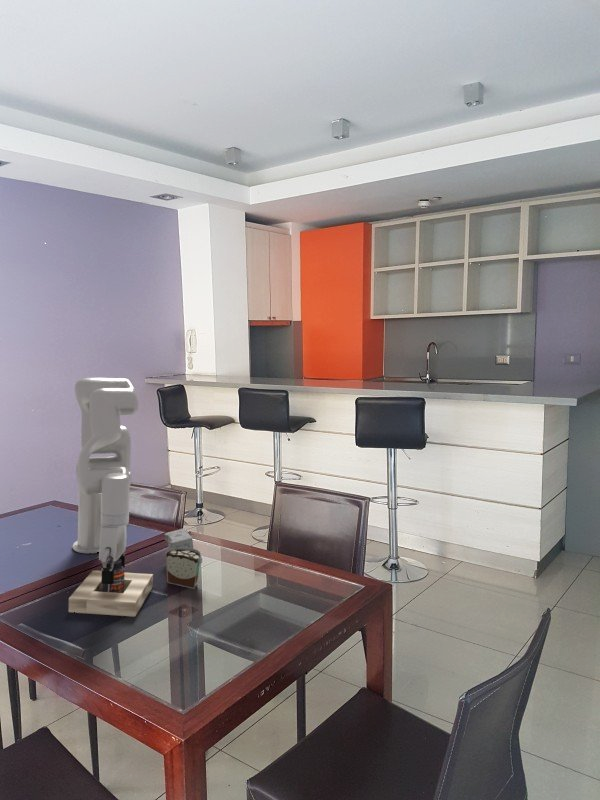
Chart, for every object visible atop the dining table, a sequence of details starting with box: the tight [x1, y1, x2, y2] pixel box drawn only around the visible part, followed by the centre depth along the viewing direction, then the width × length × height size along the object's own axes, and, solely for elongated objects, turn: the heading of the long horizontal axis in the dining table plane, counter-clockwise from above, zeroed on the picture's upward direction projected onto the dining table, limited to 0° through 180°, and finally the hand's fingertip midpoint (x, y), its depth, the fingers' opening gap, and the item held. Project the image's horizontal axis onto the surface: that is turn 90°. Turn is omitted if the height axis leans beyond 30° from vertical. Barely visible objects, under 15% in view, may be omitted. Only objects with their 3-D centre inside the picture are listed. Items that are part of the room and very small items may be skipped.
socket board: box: [68, 569, 154, 617], centre depth 167 cm, size 18×18×4 cm
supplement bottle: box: [102, 558, 126, 593], centre depth 166 cm, size 6×6×11 cm
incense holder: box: [163, 528, 194, 550], centre depth 193 cm, size 10×8×10 cm
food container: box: [163, 547, 203, 590], centre depth 180 cm, size 12×6×10 cm, turn 71°
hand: (113, 576), depth 166 cm, fingers open, 9 cm apart
